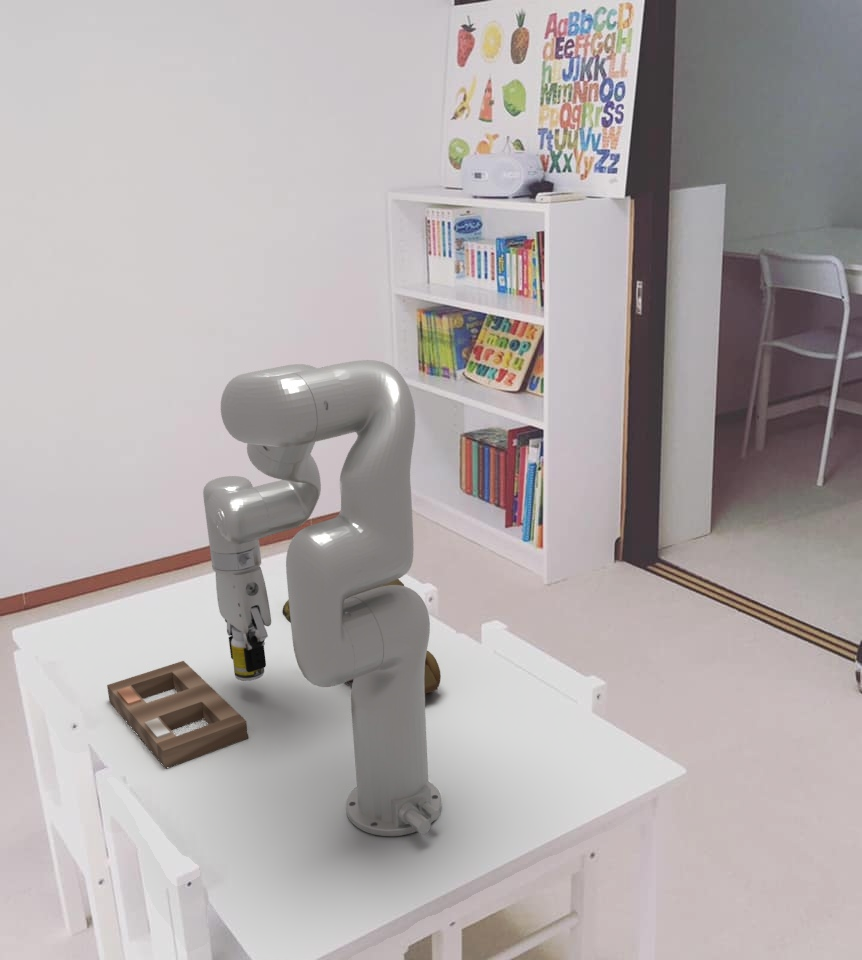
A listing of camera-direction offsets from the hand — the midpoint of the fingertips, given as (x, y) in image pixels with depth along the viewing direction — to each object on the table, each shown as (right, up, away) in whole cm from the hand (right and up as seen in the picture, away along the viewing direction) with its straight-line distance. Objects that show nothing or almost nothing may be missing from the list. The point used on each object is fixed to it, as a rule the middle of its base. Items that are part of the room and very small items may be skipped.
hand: (248, 662), depth 172 cm
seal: (+6, +3, +31) cm, 31 cm away
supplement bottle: (0, -2, +1) cm, 2 cm away
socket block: (-11, -8, -4) cm, 14 cm away
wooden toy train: (+22, -5, +4) cm, 22 cm away
